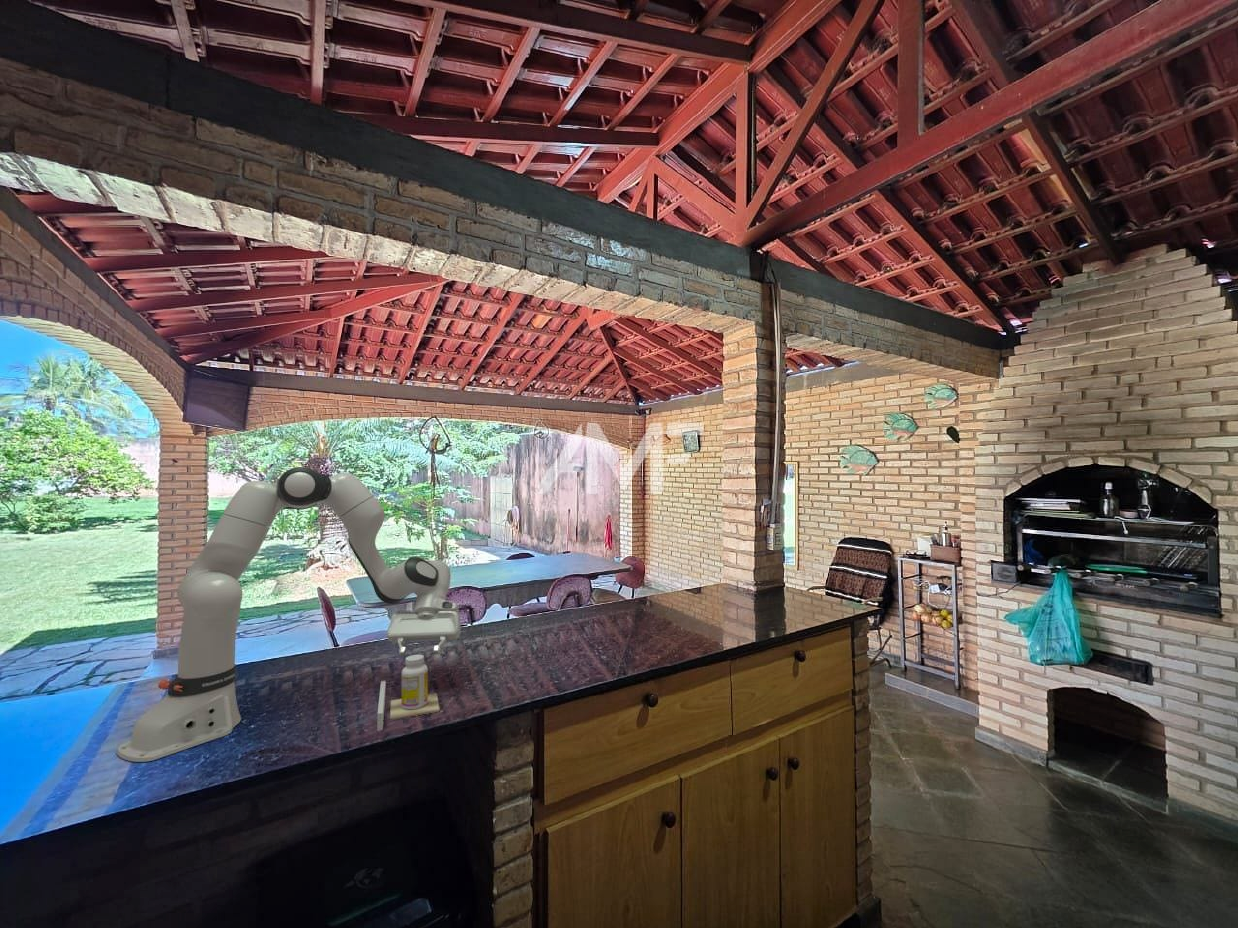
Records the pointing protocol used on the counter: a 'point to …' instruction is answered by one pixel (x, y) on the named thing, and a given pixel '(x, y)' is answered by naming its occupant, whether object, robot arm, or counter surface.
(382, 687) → the frosted acrylic wall
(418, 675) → the supplement bottle
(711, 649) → the counter surface
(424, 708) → the light oak mat
